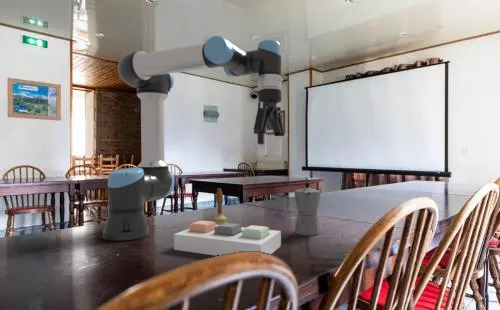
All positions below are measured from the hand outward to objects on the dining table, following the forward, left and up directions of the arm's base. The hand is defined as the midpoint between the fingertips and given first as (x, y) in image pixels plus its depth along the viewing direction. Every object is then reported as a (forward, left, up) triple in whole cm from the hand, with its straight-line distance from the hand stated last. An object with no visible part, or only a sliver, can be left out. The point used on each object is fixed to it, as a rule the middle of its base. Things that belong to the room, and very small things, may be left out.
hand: (270, 155), depth 103 cm
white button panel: (-9, -12, -28) cm, 32 cm away
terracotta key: (-18, -12, -24) cm, 33 cm away
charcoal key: (-9, -12, -24) cm, 29 cm away
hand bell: (-21, +4, -28) cm, 35 cm away
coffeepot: (+8, +17, -28) cm, 34 cm away
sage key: (0, -12, -24) cm, 27 cm away
